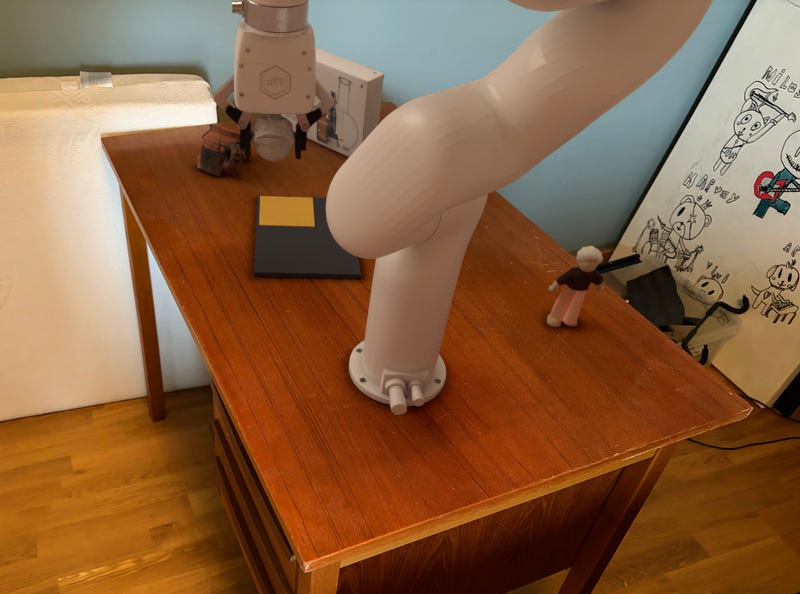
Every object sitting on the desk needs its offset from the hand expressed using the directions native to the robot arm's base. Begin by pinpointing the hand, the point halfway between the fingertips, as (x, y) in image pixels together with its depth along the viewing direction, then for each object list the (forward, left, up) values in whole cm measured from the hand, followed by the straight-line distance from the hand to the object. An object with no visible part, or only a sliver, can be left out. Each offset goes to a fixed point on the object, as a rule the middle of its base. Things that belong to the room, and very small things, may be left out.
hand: (273, 152), depth 94 cm
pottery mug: (+29, +9, -18) cm, 35 cm away
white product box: (+41, -10, -18) cm, 46 cm away
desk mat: (+7, -5, -18) cm, 20 cm away
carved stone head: (0, 0, -1) cm, 1 cm away
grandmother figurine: (-13, -42, -18) cm, 48 cm away
